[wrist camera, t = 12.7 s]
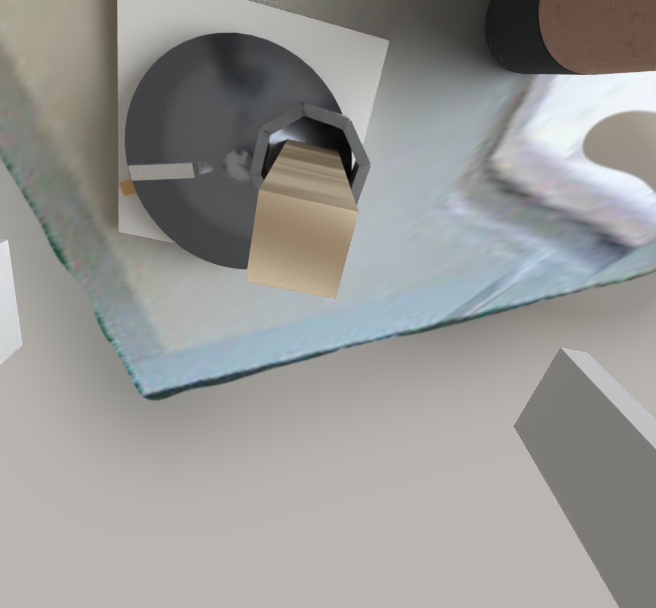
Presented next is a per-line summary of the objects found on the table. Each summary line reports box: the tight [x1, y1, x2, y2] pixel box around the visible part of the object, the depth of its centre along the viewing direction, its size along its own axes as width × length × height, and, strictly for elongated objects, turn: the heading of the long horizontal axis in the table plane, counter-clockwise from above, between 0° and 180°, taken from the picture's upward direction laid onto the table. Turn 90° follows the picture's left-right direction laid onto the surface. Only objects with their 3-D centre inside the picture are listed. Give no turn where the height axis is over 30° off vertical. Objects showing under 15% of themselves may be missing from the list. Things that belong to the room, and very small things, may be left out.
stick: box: [246, 139, 358, 299], centre depth 22 cm, size 4×4×16 cm
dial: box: [125, 33, 370, 269], centre depth 29 cm, size 16×16×5 cm
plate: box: [117, 0, 389, 244], centre depth 32 cm, size 18×18×2 cm
